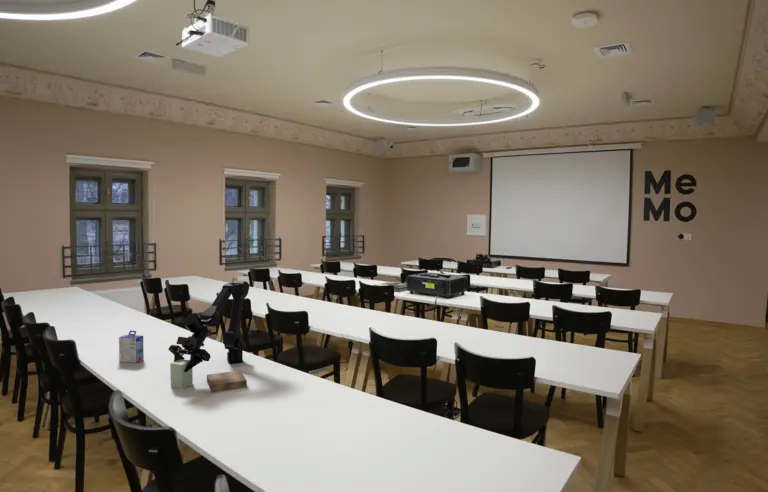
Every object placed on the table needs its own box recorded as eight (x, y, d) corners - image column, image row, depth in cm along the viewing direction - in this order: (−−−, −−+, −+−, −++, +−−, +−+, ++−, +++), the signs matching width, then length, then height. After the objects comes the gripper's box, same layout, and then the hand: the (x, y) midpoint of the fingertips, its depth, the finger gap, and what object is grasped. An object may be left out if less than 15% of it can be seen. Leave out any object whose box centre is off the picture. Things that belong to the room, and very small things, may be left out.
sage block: (181, 381, 205) (181, 359, 205) (192, 383, 203) (192, 360, 202) (170, 386, 200) (170, 363, 199) (181, 388, 198) (181, 365, 197)
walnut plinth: (240, 376, 212) (240, 370, 212) (246, 387, 200) (246, 380, 200) (206, 381, 206) (206, 374, 206) (211, 392, 194) (211, 385, 193)
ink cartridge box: (144, 359, 234) (143, 330, 233) (136, 363, 229) (135, 333, 228) (127, 358, 236) (126, 329, 235) (118, 361, 231) (117, 332, 230)
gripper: (171, 326, 207) (150, 358, 197) (205, 330, 200) (185, 364, 191) (185, 339, 215) (166, 371, 205) (218, 344, 208) (200, 377, 198)
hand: (179, 370), depth 200 cm, fingers closed on sage block, 6 cm apart
